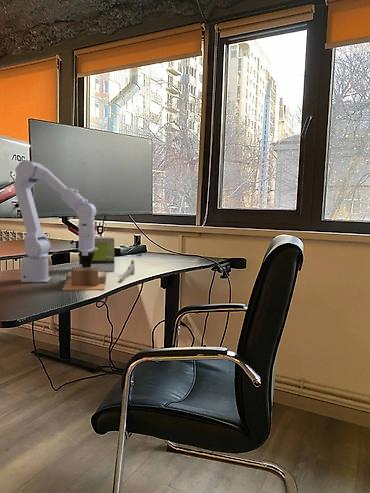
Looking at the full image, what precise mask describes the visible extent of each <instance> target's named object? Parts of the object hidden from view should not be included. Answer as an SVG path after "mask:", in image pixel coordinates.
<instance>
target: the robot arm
mask: <svg viewBox="0 0 370 493" xmlns="http://www.w3.org/2000/svg"><path fill="white" fill-rule="evenodd" d="M14 170H15V178H14V183H13V184H14V185H13V188H14V192H15V195H16V199H17V203H18V207H19V210H20V211H19V212H20V213H21V218H22V221H23V225H24V228H25V232H26V233H25V236H24V238H23V240H24V248H23V249H24V252H25V254H26V256H23V257H22V258H21V261H20V283H47V282H49V281H50V280H51V278H52V276H49V274H50V273H49V252H51V250H52V244H51V241H50V240H49V239H48V238H47V235H46V233H45V232H44V231H43V229H42V227H41V222H40V220H39V215H38V212H37V208H36V205H35V204H36V203H35V200H34V197H33V193H32V188H33V187H34V185H35V184H36V183H37V182H39V181H44V182H45V183H46V184H47V185H49V186H50V187H51V188H53V190H55V191H57V193H58V194H59V195H61V200H62V201H63V202H64V203H65V204H66V205H68V207H70V209H72V210H73V211H74V212H75V215H76V216H77V217H78V247H77V250H78V254H77V255H78V259H79V258H80V260H81V263H82V268H91V262H92V259H93V256H94V254H95V253H90V251H94V250H98V248H95V237H96V236H95V234H96V232H95V226H96V224H95V216H96V215H97V206H96V205H95V204H94V203H92V202H89V200H88V199H87V198H84V197H83V196H82V195H81V194H80V193H79V190H78V189H74V188H72V187H70V188H68V187H67V186H66V185H65V184H64V183H63V182H62V181H61V180H60V179H59V178H58V177H56V176H55V174H53V172H52V171H50V170H49V169H48V167H46V166H44V165H43V164H42V163H39V162H35V161H30V160H27V159H23V160H21V161H20V162H19V163H18V164H17V166H15V168H14ZM79 251H81V252H82V253H79Z"/></svg>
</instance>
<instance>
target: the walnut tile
mask: <svg viewBox="0 0 370 493" xmlns="http://www.w3.org/2000/svg"><path fill="white" fill-rule="evenodd" d="M70 272H71V278H72V286H98V268H81V267H79V266H77V267H75V266H74V267H71V271H70Z"/></svg>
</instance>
